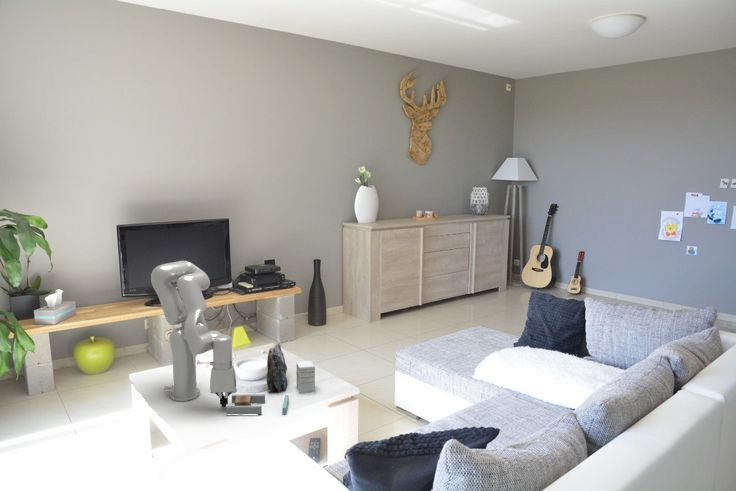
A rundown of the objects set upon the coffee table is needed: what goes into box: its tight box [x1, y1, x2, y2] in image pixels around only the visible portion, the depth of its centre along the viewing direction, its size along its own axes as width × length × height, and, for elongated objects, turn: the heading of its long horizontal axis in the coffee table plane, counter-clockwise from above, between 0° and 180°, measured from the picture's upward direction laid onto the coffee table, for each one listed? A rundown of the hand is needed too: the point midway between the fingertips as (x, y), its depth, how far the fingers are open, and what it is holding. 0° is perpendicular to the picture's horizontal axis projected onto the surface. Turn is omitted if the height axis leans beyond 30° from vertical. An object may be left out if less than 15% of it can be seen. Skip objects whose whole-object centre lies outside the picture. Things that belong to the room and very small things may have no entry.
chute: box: [226, 393, 266, 415], centre depth 219 cm, size 14×12×4 cm
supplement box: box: [296, 360, 316, 394], centre depth 238 cm, size 7×7×13 cm
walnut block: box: [233, 396, 252, 406], centre depth 219 cm, size 6×6×4 cm
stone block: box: [266, 341, 288, 394], centre depth 241 cm, size 18×9×20 cm, turn 3°
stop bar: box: [281, 394, 290, 416], centre depth 220 cm, size 2×12×3 cm, turn 4°
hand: (224, 405), depth 219 cm, fingers closed
